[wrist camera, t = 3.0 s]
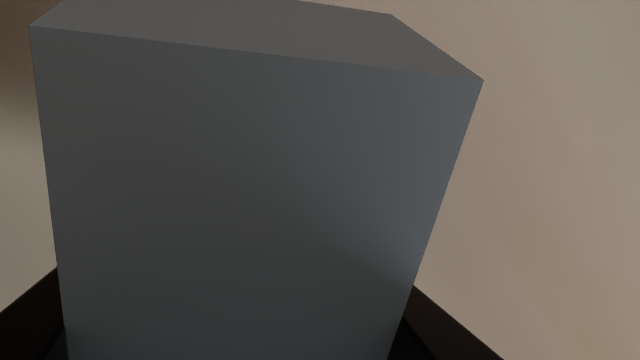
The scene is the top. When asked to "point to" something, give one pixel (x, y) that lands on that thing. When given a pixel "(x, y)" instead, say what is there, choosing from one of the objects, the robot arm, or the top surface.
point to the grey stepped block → (241, 174)
